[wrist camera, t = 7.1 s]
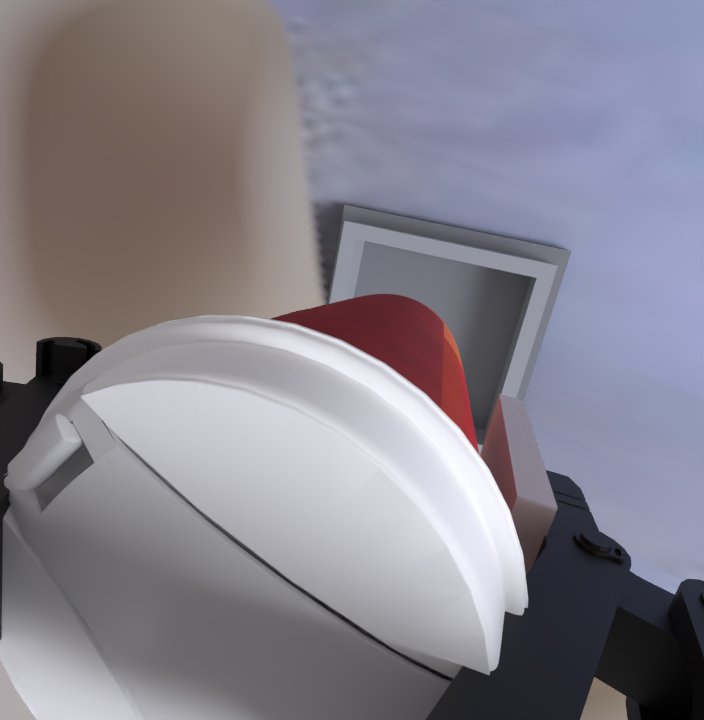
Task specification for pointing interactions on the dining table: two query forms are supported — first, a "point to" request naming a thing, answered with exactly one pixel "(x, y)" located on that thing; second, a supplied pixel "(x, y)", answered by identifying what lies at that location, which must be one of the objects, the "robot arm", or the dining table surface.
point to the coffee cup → (258, 525)
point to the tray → (458, 293)
